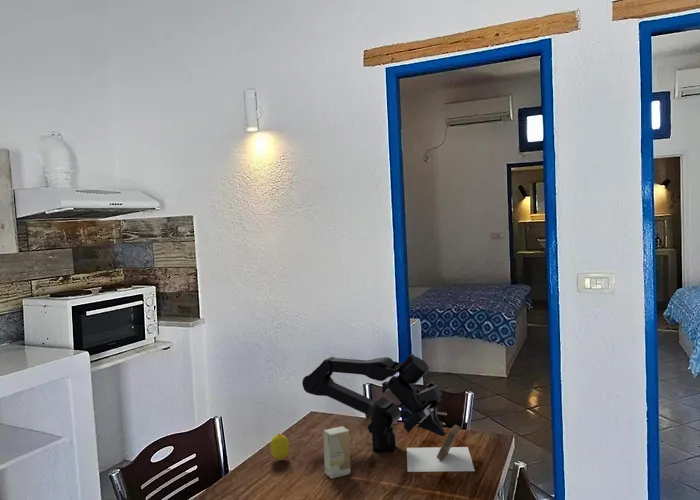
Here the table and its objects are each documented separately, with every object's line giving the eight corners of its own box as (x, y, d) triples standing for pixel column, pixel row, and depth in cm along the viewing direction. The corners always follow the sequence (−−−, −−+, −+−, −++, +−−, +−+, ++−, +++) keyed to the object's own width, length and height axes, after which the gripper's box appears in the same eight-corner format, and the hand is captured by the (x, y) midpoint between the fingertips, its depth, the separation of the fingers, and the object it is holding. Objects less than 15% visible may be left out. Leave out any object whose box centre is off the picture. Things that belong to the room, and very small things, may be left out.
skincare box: (331, 479, 153) (328, 435, 153) (324, 473, 157) (322, 430, 157) (352, 473, 156) (350, 429, 156) (345, 467, 160) (342, 425, 160)
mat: (407, 473, 155) (407, 471, 155) (406, 449, 170) (406, 447, 170) (475, 473, 153) (474, 470, 153) (467, 449, 169) (467, 447, 169)
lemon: (293, 457, 169) (292, 431, 168) (283, 465, 164) (282, 438, 163) (277, 455, 171) (276, 429, 171) (267, 463, 166) (265, 436, 166)
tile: (436, 457, 161) (449, 431, 158) (442, 449, 166) (455, 424, 164) (441, 461, 160) (454, 435, 158) (448, 452, 165) (460, 427, 163)
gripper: (412, 384, 156) (453, 429, 151) (434, 367, 172) (471, 407, 168) (387, 410, 160) (426, 454, 155) (410, 391, 176) (447, 430, 172)
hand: (444, 435), depth 162 cm, fingers closed
